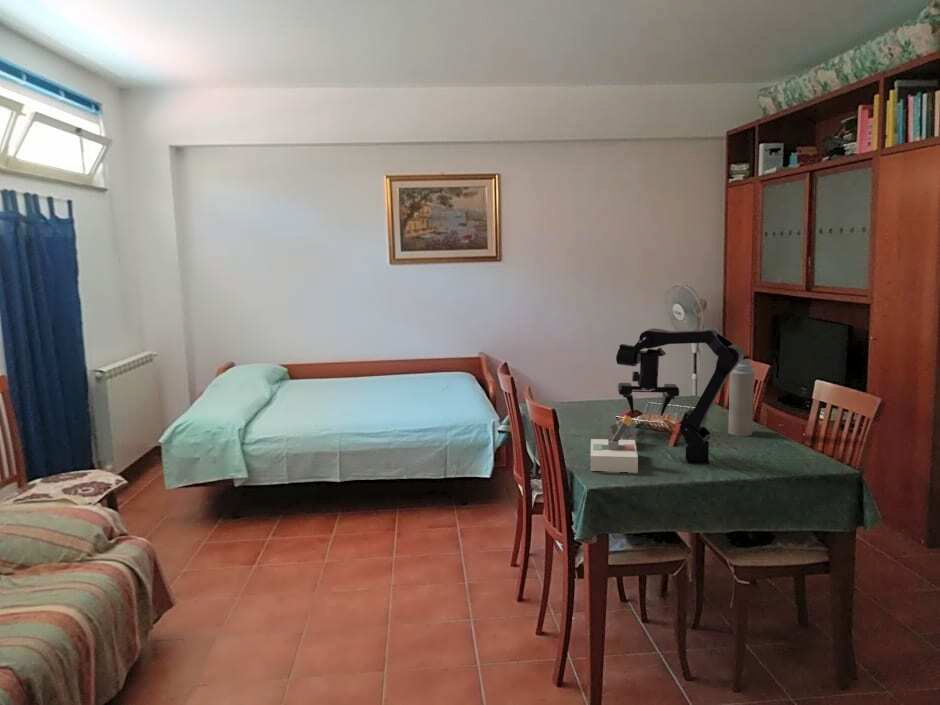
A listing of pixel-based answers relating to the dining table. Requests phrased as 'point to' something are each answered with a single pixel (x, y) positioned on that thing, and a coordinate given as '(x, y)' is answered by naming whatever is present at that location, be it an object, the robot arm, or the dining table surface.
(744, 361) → the thermos bottle
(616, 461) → the breaker housing
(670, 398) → the robot arm
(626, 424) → the breaker lever
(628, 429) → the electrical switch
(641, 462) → the dining table surface
